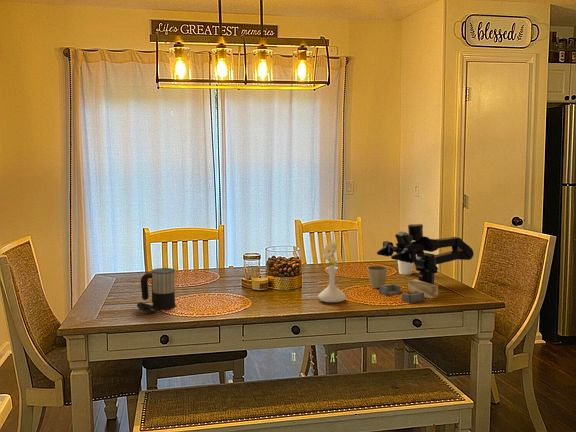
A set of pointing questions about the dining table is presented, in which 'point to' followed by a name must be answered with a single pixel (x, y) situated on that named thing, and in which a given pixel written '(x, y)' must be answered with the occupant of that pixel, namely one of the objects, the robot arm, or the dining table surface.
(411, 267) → the foam cup
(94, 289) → the dining table surface
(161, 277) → the milk frother
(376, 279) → the flower pot
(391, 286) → the end caps
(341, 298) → the flower in vase
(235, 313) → the dining table surface
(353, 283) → the dining table surface
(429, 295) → the beige rectangular block
